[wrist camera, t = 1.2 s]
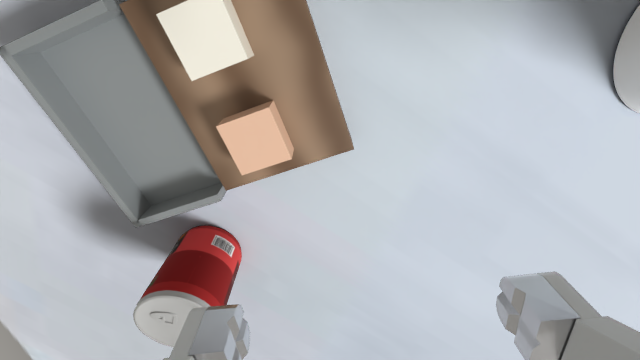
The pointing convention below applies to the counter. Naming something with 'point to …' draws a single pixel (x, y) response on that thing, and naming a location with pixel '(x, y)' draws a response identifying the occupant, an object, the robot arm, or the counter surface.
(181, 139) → the tray
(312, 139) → the board
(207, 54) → the tile cream
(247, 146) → the tile terracotta
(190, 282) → the canned food
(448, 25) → the counter surface
